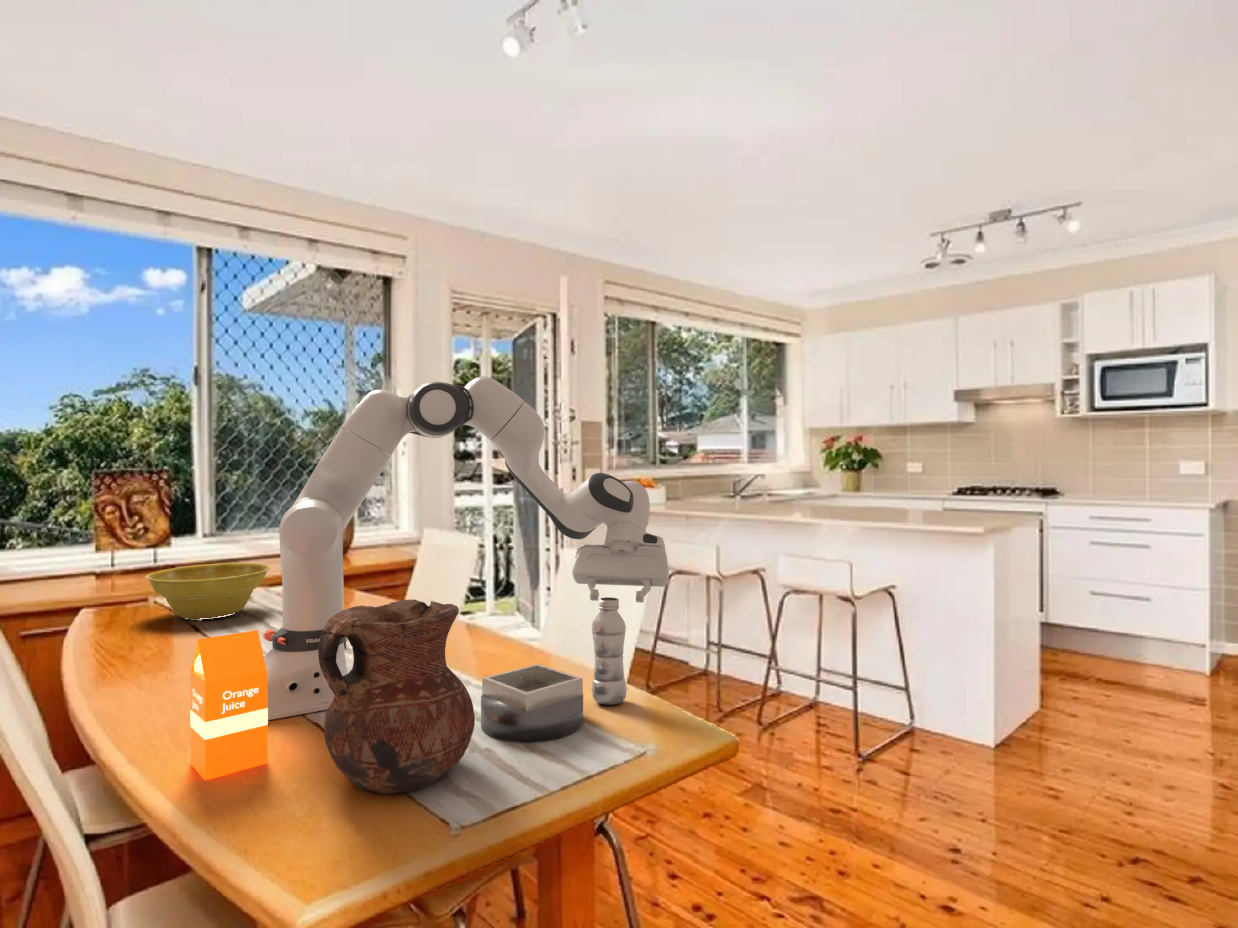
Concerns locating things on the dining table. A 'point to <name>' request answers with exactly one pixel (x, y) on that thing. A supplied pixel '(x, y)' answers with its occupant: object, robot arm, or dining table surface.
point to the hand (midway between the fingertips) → (616, 599)
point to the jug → (395, 696)
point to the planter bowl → (208, 588)
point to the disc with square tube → (531, 704)
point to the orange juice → (228, 705)
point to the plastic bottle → (608, 653)
